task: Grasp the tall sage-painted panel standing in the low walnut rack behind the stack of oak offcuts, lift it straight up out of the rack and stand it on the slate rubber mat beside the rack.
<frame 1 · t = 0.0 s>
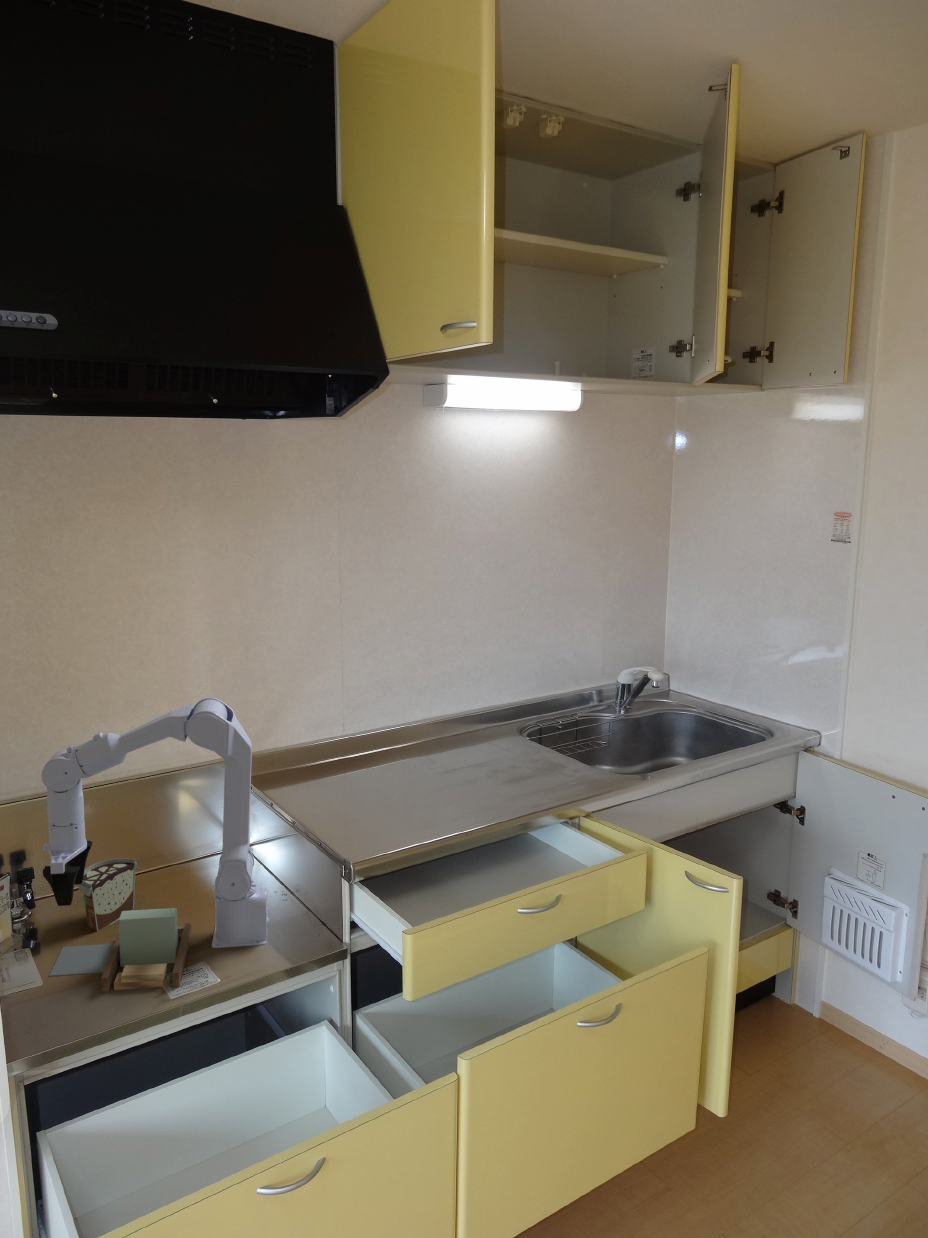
hand: (70, 894, 156), 10 cm above the counter, tool pointing down, fingers open, 7 cm apart
sage panel: (149, 962, 154), resting in walnut rack
offcut top: (144, 976, 146), point 2 cm above the counter, touching offcut middle
slate mat: (84, 961, 153), on the counter
offcut middle: (140, 983, 147), resting on offcut bottom, touching offcut top
offcut bottom: (143, 990, 147), on the counter, touching offcut middle
food container: (103, 919, 168), on the counter
walnut rack: (148, 965, 153), on the counter
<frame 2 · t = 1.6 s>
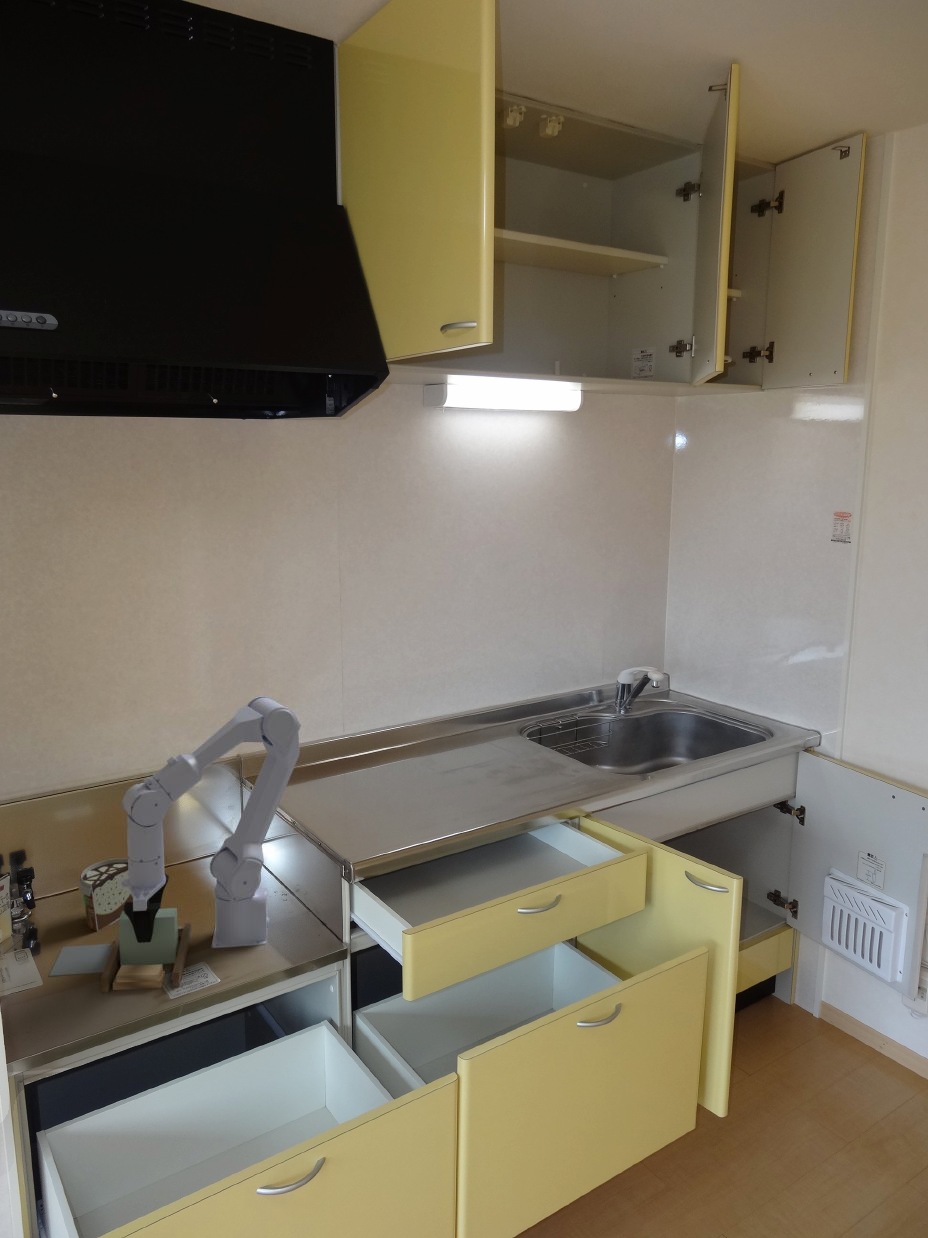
hand: (148, 930, 152), 6 cm above the counter, tool pointing down, fingers open, 7 cm apart
offcut middle: (139, 983, 147), resting on offcut bottom, touching offcut top
offcut bottom: (143, 990, 147), on the counter
everything else where it was.
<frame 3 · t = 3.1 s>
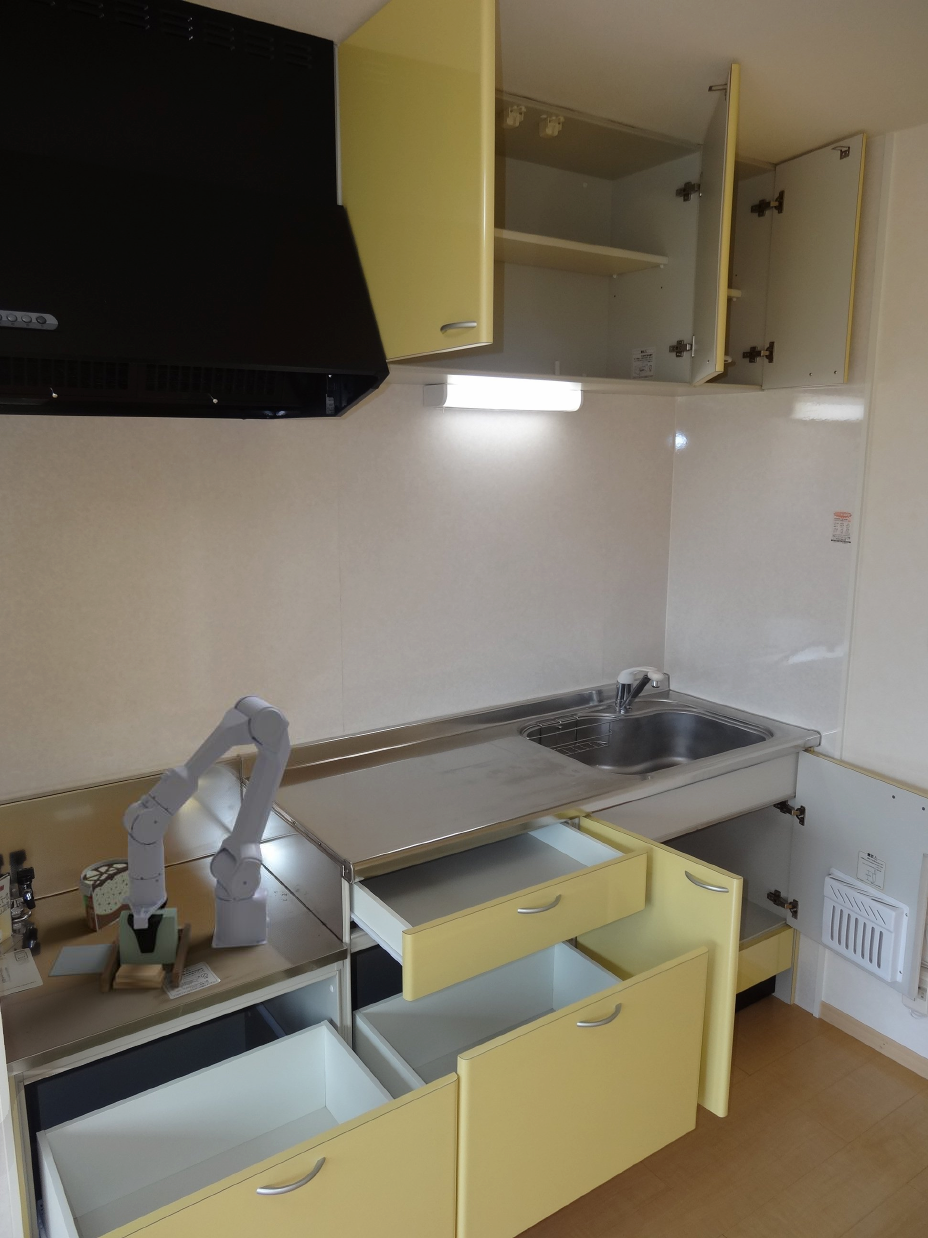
hand: (149, 946, 153), 3 cm above the counter, tool pointing down, fingers closed on sage panel, 3 cm apart
sage panel: (149, 962, 154), resting in walnut rack, touching gripper
offcut top: (139, 976, 147), point 1 cm above the counter
offcut middle: (139, 983, 147), resting on offcut bottom
offcut bottom: (143, 990, 147), on the counter, touching offcut middle
everything else where it was.
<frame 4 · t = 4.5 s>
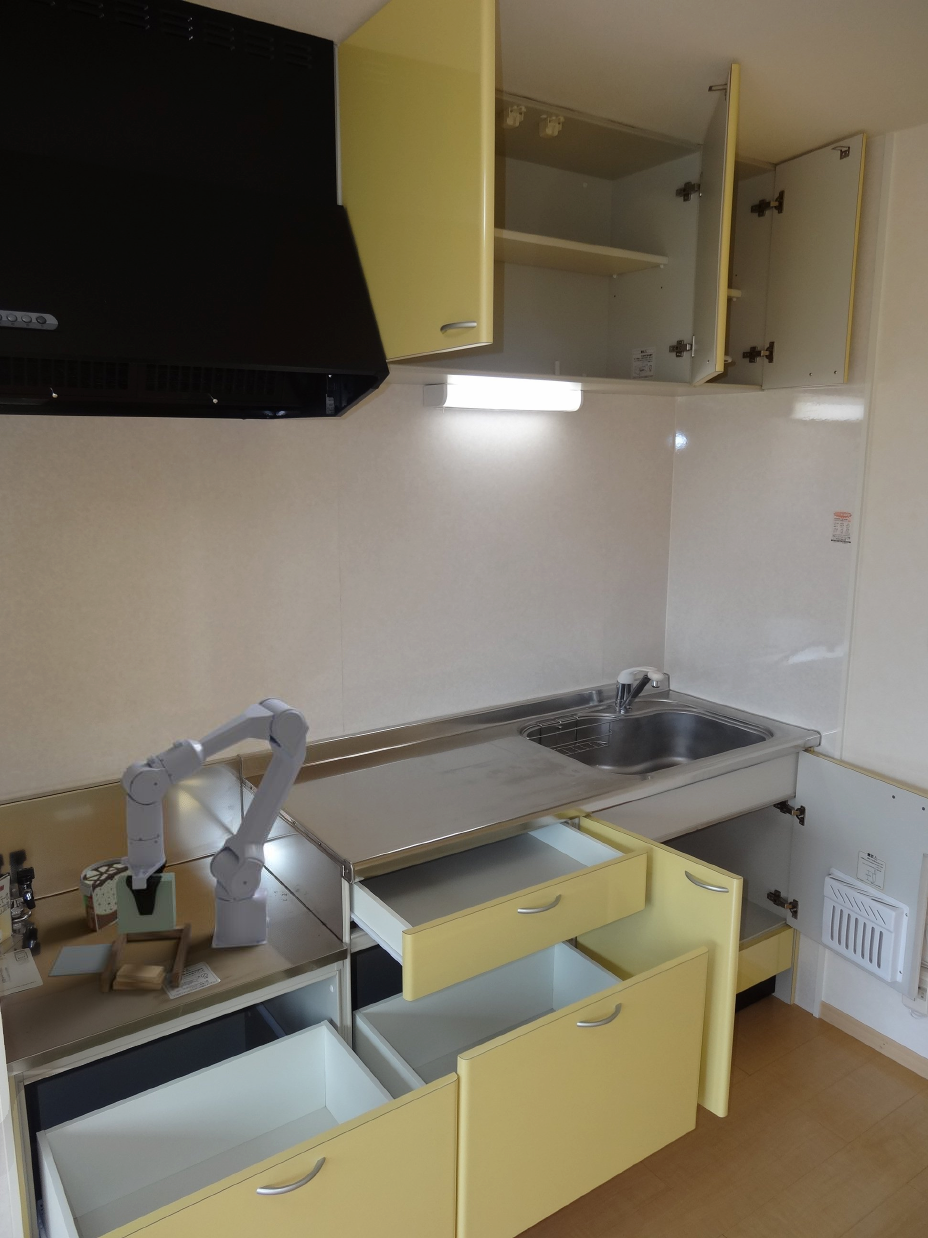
hand: (148, 909, 152), 10 cm above the counter, tool pointing down, fingers closed on sage panel, 3 cm apart
sage panel: (147, 927, 152), point 6 cm above the counter, touching gripper
offcut top: (140, 977, 146), point 2 cm above the counter, touching offcut middle
offcut middle: (139, 984, 146), resting on offcut bottom, touching offcut top
everything else where it was.
when the fingers open (4 cm above the counter, at t = 7.4 s): sage panel stays where it is, resting on slate mat.
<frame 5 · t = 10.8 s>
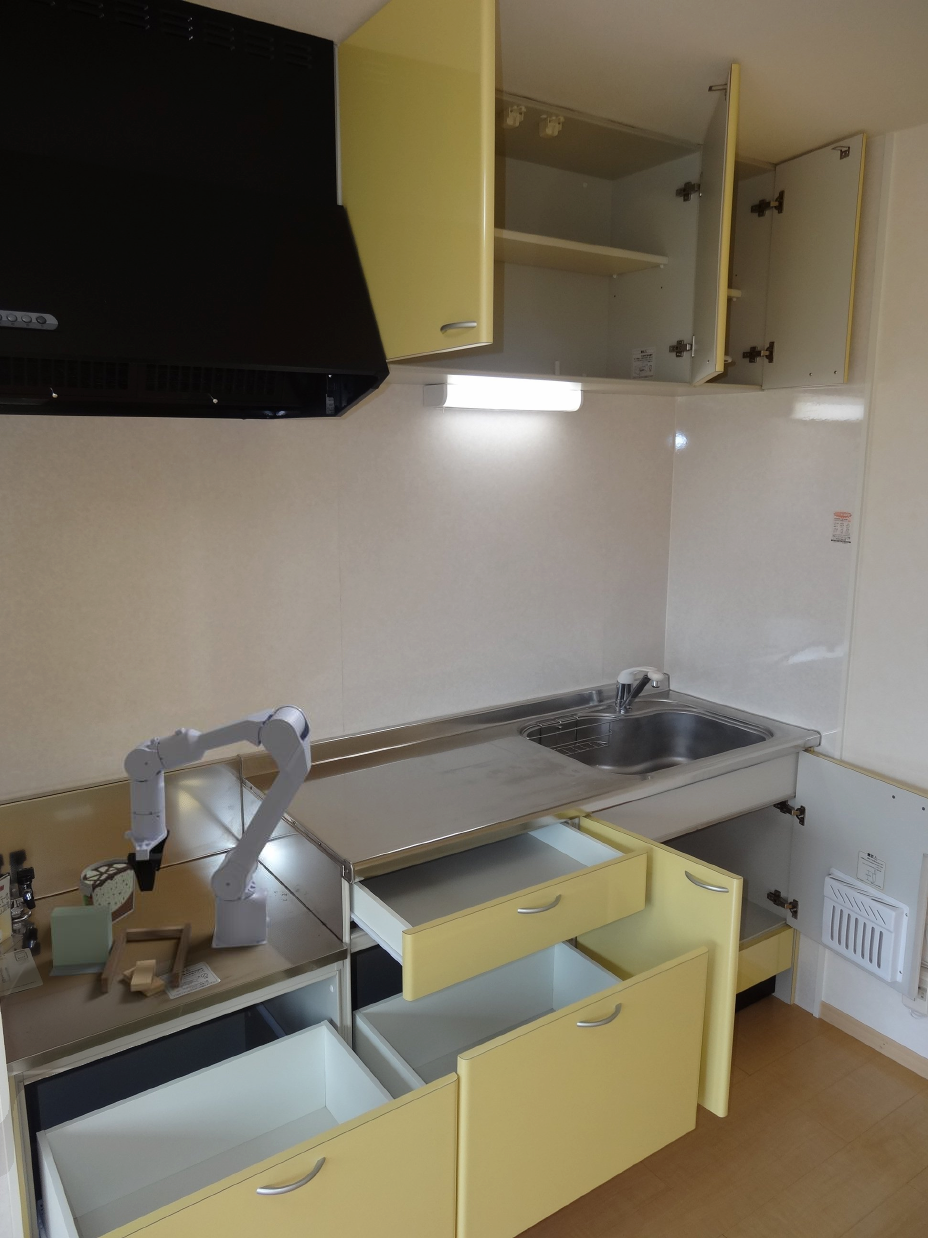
hand: (150, 880, 161), 10 cm above the counter, tool pointing down, fingers open, 7 cm apart
sage panel: (83, 959, 153), resting on slate mat
at the end: sage panel inside the target area on the slate mat (0.1 cm from its centre), point 0.5 cm above the slate mat's base; sage panel tilted 0°; offcut top moved 1.1 cm from its start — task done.
